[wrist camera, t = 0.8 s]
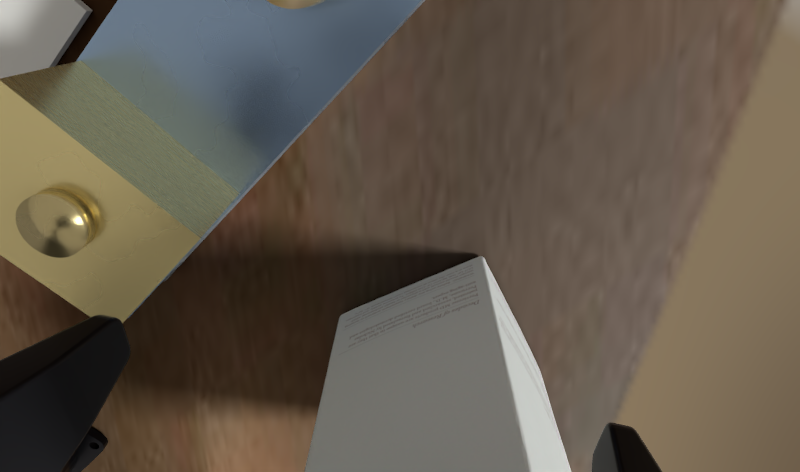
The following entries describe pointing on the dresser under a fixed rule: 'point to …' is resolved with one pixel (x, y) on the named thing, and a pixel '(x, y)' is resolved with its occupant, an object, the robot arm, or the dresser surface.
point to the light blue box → (238, 71)
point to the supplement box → (435, 385)
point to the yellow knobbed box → (96, 190)
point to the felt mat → (37, 33)
